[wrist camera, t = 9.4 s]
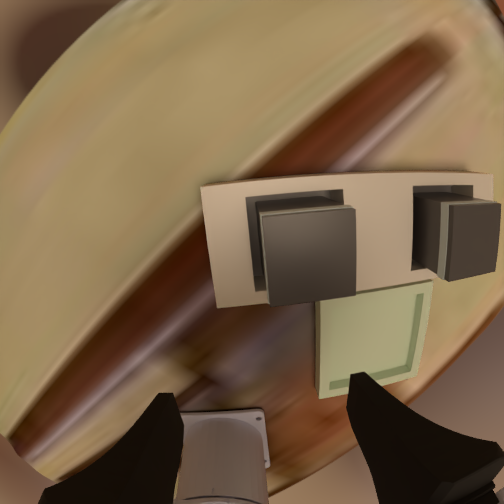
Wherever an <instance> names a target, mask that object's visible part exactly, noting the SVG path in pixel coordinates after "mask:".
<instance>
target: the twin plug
mask: <svg viewBox="0 0 504 504" xmlns="http://www.w3.org/2000/svg"><path fill="white" fill-rule="evenodd" d="M255 206H256V216H257V226H258V236H259V247H260V257H261V267H262V272H263V276H264V281H265V285H266V290H267V300H268V304H270V307H276V306H284V305H292V304H300V303H308V302H316V301H323V300H330V299H337V298H344V297H350V296H356V266H357V244H356V209H354V208H353V206H350V205H344V204H342V203H339V202H337V201H334V200H331V199H329V198H326V197H324V196H312V197H299V198H288V199H277V200H266V201H256V202H255Z"/></svg>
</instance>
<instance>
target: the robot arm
mask: <svg viewBox="0 0 504 504" xmlns="http://www.w3.org/2000/svg"><path fill="white" fill-rule="evenodd" d="M346 409H347V412H348V416H349V420H350V423H351V427H352V429H353V432H354V434H355V436H356V439H357V441H358V443H359V446H360V448H361V450H362V452H363V455H364V457H365V459H366V462H367V464H368V466H369V469H370V472H371V475H372V478H373V481H374V485H375V489H376V493H377V497H378V500H379V504H504V487H503V488H502V489H501V490H499V491H498V492H497V493H496V494H495V493H494V491H493V489H494V488H495V484H494V482H493V481H492V480H493V479H494V478H495V477H496V475H497V474H498V473H499V471H500V470H501V469H502V468H503V466H504V452H503V451H502V449H501V448H500V446H499V445H498V444H497V442H493V441H487V440H482V439H477V438H473V437H469V436H466V435H462V434H460V433H457V432H454V431H452V430H449V429H447V428H444V427H442V426H440V425H438V424H435V423H433V422H432V421H430V420H428V419H426V418H424V417H423V416H421V415H419V414H418V413H416V412H414V411H413V410H411V409H410V408H408V407H407V406H406V405H404V404H403V403H402V402H400V401H399V400H398V399H396V398H395V397H394V396H393V395H391V394H390V393H389V392H388V391H386V390H385V389H384V388H383V387H382V386H381V385H379V384H378V383H377V382H376V381H375V380H374V379H373V378H371V377H370V376H369V375H368V374H367V373H366V372H359V373H354V374H350V382H349V391H348V399H347V406H346ZM257 417H260V418H257ZM183 444H184V450H183V456H182V463H181V470H180V476H179V483H178V490H177V497H176V499H174V500H173V498H174V489H175V483H176V478H177V473H178V468H179V463H180V458H181V453H182V448H183ZM268 467H270V460H269V451H268V443H267V435H266V426H265V418H264V411H263V410H262V409H249V410H237V411H222V412H200V413H180V412H179V409H178V406H177V403H176V401H175V398H174V395H173V393H158V394H157V396H156V397H155V398H154V399H153V401H152V402H151V403H150V405H149V406H148V407H147V409H146V410H145V411H144V413H143V414H142V415H141V416H140V418H139V419H138V420H137V421H136V422H135V424H134V425H133V426H132V427H131V428H130V430H129V431H128V432H127V433H126V434H125V435H124V436H123V437H122V438H121V439H120V440H119V441H118V442H117V443H116V444H115V445H114V446H113V447H112V448H111V449H110V450H109V451H108V452H107V453H106V454H104V455H103V456H102V457H101V458H99V459H98V460H97V461H95V462H94V463H93V464H91V465H90V466H88V467H87V468H86V469H84V470H82V471H81V472H79V473H77V474H76V475H74V476H72V477H70V478H68V479H66V480H64V481H62V482H60V483H58V484H55V485H53V486H51V487H48V488H45V489H44V491H43V493H42V496H41V498H40V500H39V502H38V504H269V501H268V491H267V480H266V470H265V468H268Z"/></svg>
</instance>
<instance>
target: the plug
mask: <svg viewBox="0 0 504 504" xmlns="http://www.w3.org/2000/svg"><path fill="white" fill-rule="evenodd" d="M500 218H501V204H500V203H497V202H496V201H492V200H483V199H479V198H474V197H470V196H465V195H460V194H456V193H451V192H420V193H413V239H412V259H413V260H414V261H416V262H418V263H419V264H421V265H423V266H424V267H426V268H427V269H429V270H431V271H432V272H434V273H435V274H437V276H438V277H439V278H441V279H443V280H446V281H448V282H450V281H455V280H459V279H464V278H468V277H473V276H477V275H482V274H486V273H490V272H494V271H495V268H496V261H497V253H498V244H499V233H500Z"/></svg>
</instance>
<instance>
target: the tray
mask: <svg viewBox="0 0 504 504" xmlns="http://www.w3.org/2000/svg"><path fill="white" fill-rule="evenodd" d="M432 289H433V281H432V280H431V279H427V280H422V281H416V282H411V283H405V284H399V285H393V286H387V287H381V288H375V289H368V290H362V291H356V296H350V297H344V298H337V299H330V300H323V301H316V302H315V328H316V360H315V388H316V391H317V394H318V397H319V399H322V398H328V397H333V396H338V395H343V394H348V391H349V382H350V374H354V373H359V372H366V373H367V374H368V375H369V376H370V377H371V378H373V379H374V380H375V381H376V382H377V383H378V384H379V385H381V386H383V385H387V384H391V383H394V382H398V381H402V380H405V379H409V378H412V377H415V376H417V373H418V369H419V364H420V360H421V355H422V351H423V346H424V341H425V335H426V330H427V324H428V318H429V311H430V305H431V297H432Z"/></svg>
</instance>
